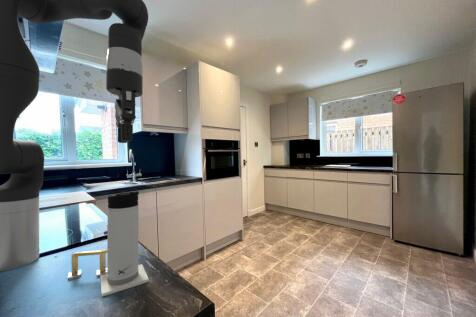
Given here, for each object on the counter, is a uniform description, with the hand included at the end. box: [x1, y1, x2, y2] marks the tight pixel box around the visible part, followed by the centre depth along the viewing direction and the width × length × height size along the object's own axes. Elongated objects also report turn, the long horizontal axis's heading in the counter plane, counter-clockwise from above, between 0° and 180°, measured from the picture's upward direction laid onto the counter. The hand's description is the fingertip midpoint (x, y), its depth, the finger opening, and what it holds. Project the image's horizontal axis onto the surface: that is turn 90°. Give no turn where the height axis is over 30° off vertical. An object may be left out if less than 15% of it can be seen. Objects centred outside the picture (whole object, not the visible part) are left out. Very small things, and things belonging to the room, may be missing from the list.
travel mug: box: [106, 190, 140, 285], centre depth 48 cm, size 6×7×20 cm
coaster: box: [99, 263, 150, 298], centre depth 48 cm, size 9×8×1 cm
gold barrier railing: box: [67, 247, 108, 281], centre depth 51 cm, size 13×5×6 cm, turn 125°
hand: (124, 141), depth 49 cm, fingers open, 8 cm apart
